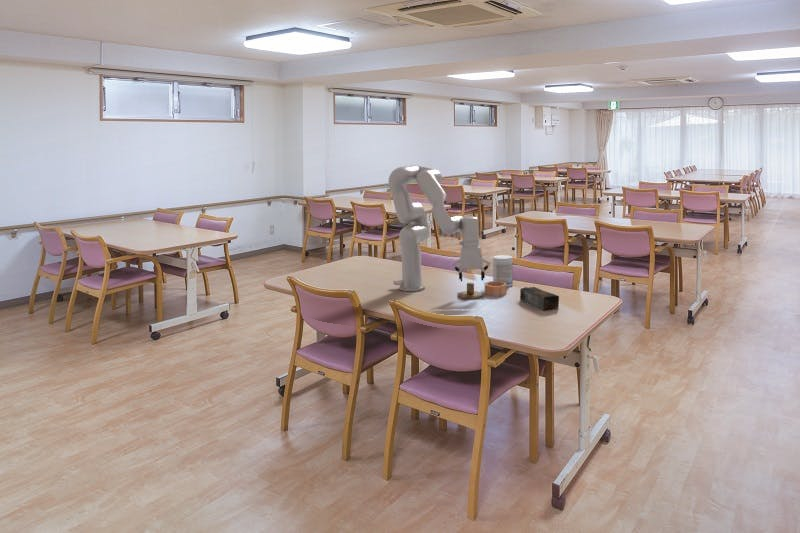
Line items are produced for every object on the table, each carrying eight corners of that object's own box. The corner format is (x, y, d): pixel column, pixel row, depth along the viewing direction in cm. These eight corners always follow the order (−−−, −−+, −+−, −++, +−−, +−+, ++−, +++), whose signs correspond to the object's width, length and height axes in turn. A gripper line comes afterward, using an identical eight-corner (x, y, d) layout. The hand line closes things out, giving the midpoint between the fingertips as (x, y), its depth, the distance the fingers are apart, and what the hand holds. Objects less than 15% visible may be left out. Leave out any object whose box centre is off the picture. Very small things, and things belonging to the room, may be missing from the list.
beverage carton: (534, 298, 277) (534, 284, 276) (559, 309, 260) (560, 294, 258) (519, 300, 274) (519, 286, 273) (543, 312, 257) (544, 297, 255)
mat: (457, 300, 276) (457, 299, 276) (457, 293, 288) (457, 292, 288) (484, 300, 276) (484, 299, 275) (482, 293, 287) (482, 292, 287)
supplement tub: (516, 286, 300) (516, 256, 296) (502, 289, 295) (502, 259, 291) (503, 282, 308) (503, 254, 304) (488, 285, 303) (489, 256, 299)
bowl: (485, 297, 281) (485, 286, 280) (484, 291, 291) (484, 281, 290) (507, 296, 281) (507, 286, 280) (505, 291, 290) (505, 281, 289)
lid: (458, 299, 277) (458, 286, 275) (458, 293, 287) (458, 280, 286) (483, 299, 276) (483, 286, 275) (481, 292, 287) (481, 280, 285)
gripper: (451, 246, 273) (453, 282, 277) (490, 244, 272) (491, 281, 275) (451, 243, 281) (452, 279, 284) (489, 241, 279) (490, 277, 283)
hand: (471, 280), depth 280 cm, fingers open, 9 cm apart
